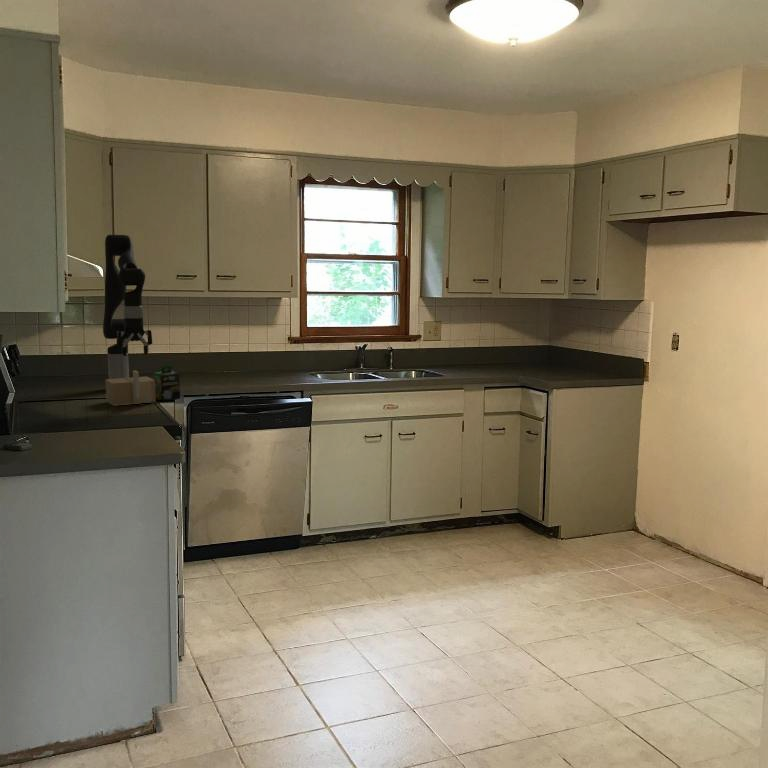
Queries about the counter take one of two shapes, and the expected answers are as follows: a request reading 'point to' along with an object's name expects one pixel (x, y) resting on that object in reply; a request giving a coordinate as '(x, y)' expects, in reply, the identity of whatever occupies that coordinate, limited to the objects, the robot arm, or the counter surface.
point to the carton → (124, 389)
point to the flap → (141, 389)
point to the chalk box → (167, 384)
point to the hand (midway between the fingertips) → (135, 355)
